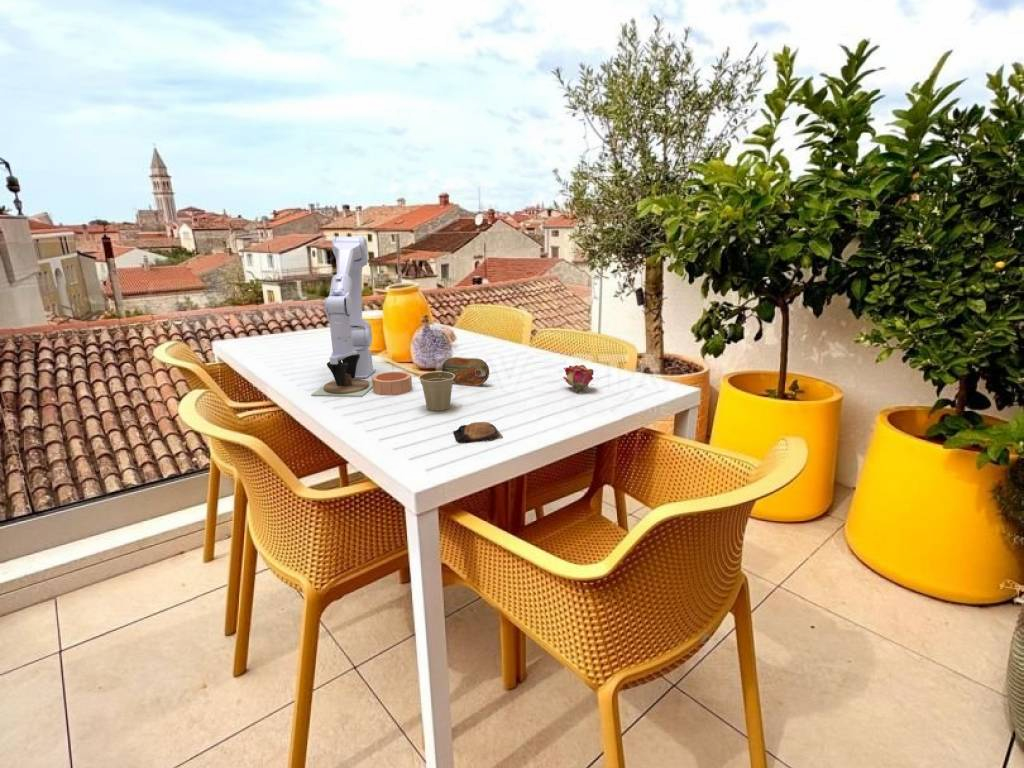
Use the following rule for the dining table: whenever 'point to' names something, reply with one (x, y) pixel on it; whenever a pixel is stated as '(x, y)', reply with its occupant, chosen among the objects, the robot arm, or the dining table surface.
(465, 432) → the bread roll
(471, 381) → the tin
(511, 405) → the dining table surface
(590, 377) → the flower
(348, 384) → the walnut lid
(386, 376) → the terracotta bowl
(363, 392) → the rubber mat
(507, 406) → the dining table surface
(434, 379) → the flower pot
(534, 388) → the dining table surface
